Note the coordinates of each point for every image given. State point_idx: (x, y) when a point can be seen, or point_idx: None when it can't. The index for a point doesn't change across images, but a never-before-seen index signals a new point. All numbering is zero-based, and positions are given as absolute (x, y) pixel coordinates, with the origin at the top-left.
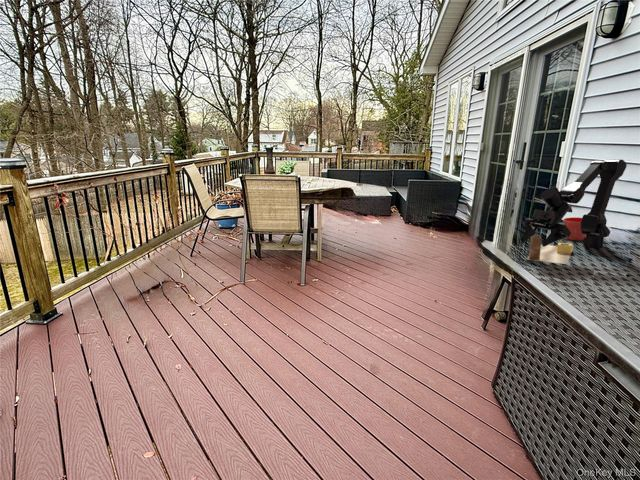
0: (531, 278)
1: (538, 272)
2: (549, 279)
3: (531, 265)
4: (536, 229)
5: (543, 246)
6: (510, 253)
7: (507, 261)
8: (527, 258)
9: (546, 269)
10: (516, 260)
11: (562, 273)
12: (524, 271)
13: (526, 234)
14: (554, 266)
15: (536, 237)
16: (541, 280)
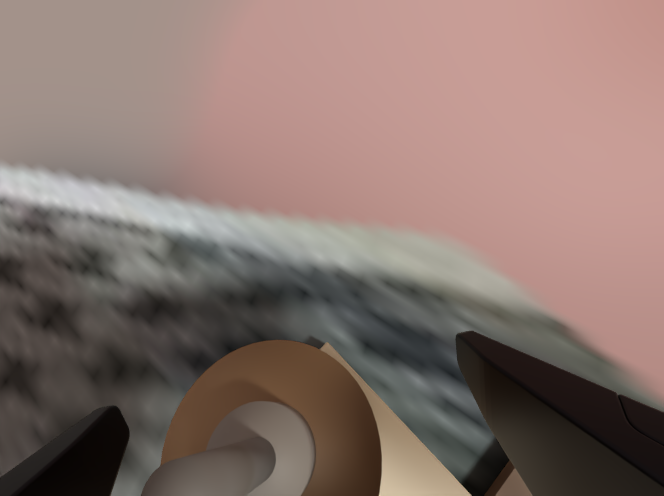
0: (79, 189)
1: (116, 275)
2: (10, 257)
3: (240, 323)
4: (172, 464)
5: (124, 430)
6: (596, 372)
7: (378, 230)
8: (345, 366)
9: (124, 361)
10: (381, 297)
11: (8, 406)
12: (173, 216)
13: (535, 390)
14: (135, 479)
15: (220, 411)
16: (30, 214)
